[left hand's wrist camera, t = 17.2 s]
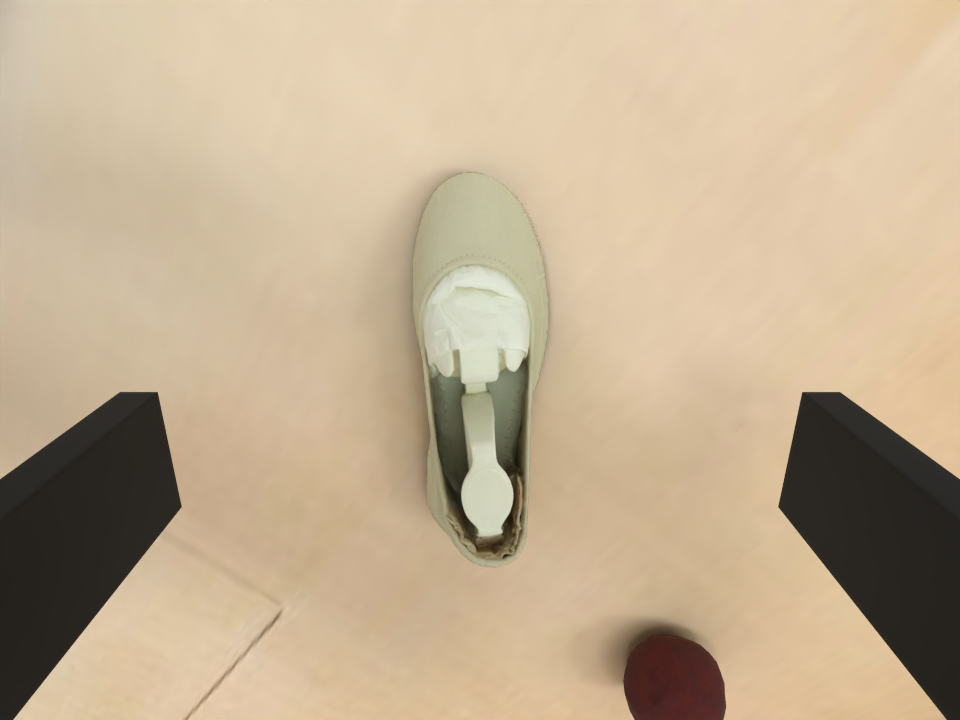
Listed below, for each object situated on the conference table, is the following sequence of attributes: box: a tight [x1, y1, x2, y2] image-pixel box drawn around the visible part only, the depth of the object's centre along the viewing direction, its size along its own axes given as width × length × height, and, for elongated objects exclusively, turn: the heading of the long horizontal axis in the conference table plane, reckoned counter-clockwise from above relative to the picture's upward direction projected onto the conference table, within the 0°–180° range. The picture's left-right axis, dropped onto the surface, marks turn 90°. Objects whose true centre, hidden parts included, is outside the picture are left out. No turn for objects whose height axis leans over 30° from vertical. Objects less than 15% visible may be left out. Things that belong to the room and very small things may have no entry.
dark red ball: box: [623, 635, 726, 720], centre depth 45 cm, size 7×8×7 cm
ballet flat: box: [413, 172, 549, 567], centre depth 36 cm, size 8×25×8 cm, turn 2°
